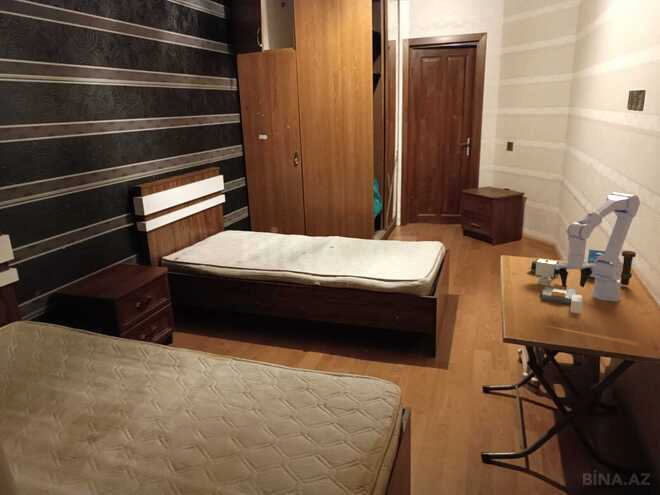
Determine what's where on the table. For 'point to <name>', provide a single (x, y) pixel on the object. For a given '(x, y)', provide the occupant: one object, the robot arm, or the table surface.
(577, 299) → the block
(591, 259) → the label tape cartridge
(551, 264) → the pneumatic valve
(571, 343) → the table surface
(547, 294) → the motor housing
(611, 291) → the robot arm
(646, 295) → the table surface
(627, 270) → the bolt
